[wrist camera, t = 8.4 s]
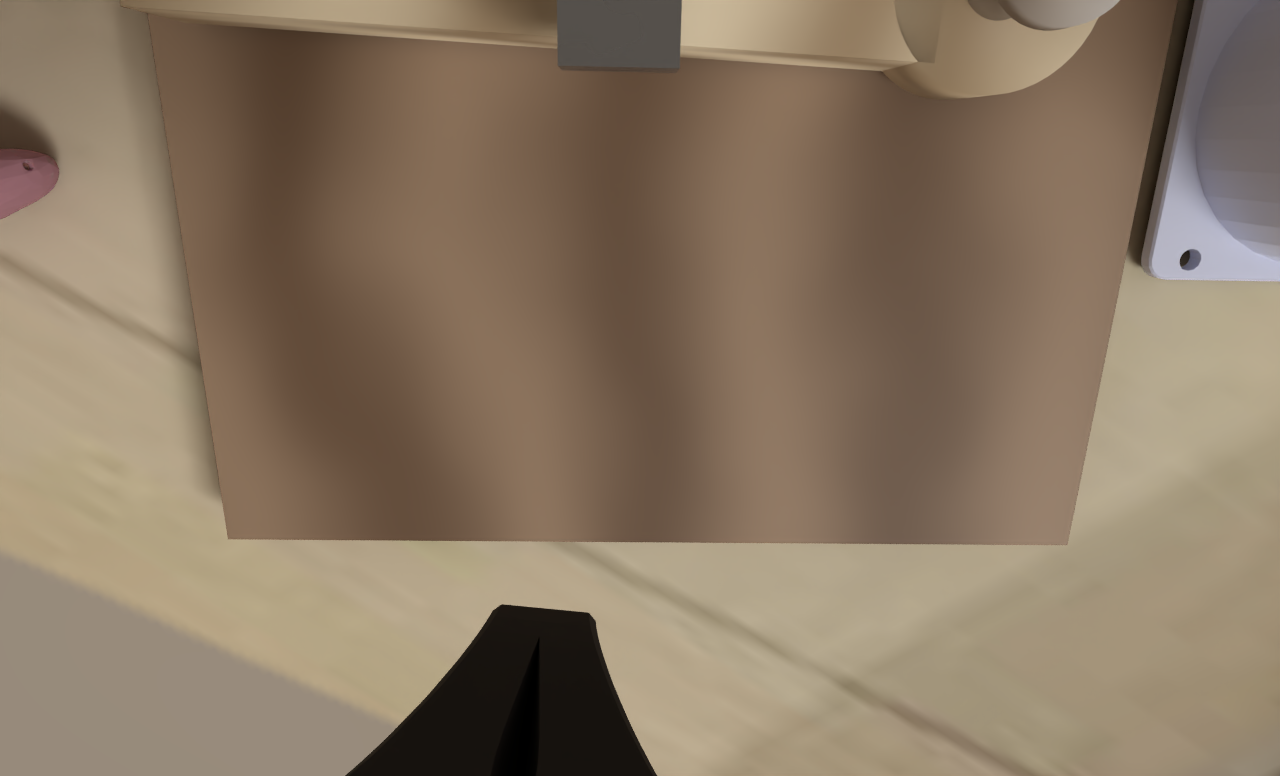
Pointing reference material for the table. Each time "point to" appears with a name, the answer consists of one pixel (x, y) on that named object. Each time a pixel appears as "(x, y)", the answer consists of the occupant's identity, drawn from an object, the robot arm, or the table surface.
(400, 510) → the walnut board
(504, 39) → the wooden link
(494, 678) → the robot arm
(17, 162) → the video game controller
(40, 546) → the table surface
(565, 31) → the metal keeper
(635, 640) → the table surface
